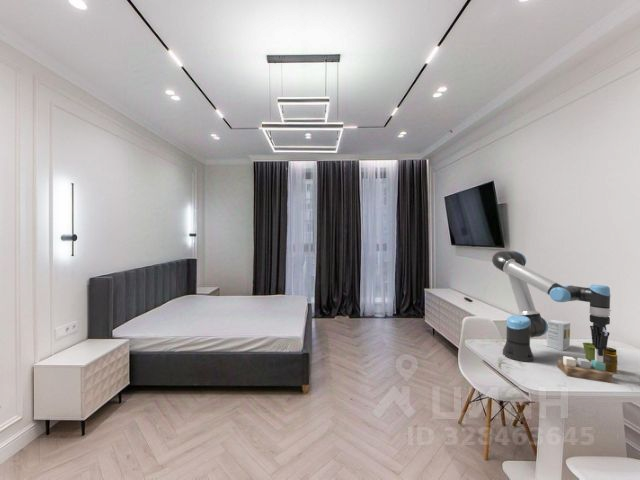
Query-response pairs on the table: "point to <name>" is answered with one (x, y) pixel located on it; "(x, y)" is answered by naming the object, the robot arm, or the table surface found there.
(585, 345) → the plant pot
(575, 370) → the wooden tray
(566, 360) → the cream white cube
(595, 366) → the teal cube
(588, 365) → the grey cube
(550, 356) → the table surface
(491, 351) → the table surface
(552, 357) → the table surface
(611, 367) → the condiment
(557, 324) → the supplement box
